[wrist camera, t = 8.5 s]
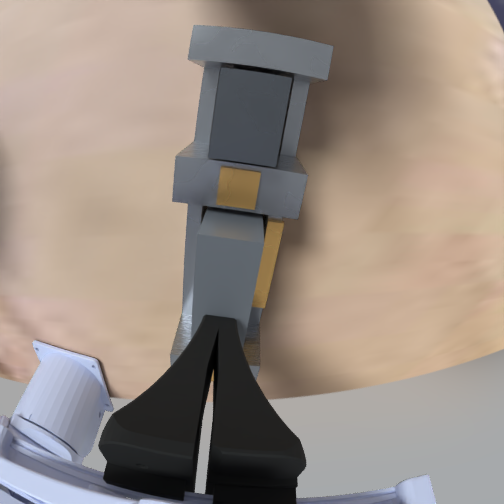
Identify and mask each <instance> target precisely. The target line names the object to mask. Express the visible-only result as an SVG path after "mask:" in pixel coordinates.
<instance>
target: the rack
mask: <svg viewBox="0 0 504 504" xmlns="http://www.w3.org/2000/svg"><path fill="white" fill-rule="evenodd" d="M333 47H334V46H331V45H327V44H323V43H319V42H315V41H311V40H306V39H301V38H297V37H292V36H286V35H281V34H275V33H269V32H263V31H256V30H248V29H240V28H230V27H219V26H204V25H194V26H193V31H192V37H191V42H190V48H189V54H188V60H190V61H192V62H194V63H196V64H198V65H200V66H202V67H204V73H203V79H202V86H201V93H200V100H199V107H198V115H197V123H196V131H195V139H194V141H193V142H192V143H191V144H190V145H188V146H187V147H186V148H185V149H183V150H182V151H181V152H180V153H179V154H177V155H176V159H175V170H174V184H173V198H172V202H180V203H188V212H187V226H186V241H185V258H184V279H183V307H182V314H181V318H180V321H179V325H178V328H177V332H176V335H175V339H174V343H173V346H172V350H171V354H170V358H171V366H172V365H173V363H174V362H175V361H176V360H177V358H178V357H179V356H180V355H181V353H182V352H183V351H184V349H185V348H186V347H187V345H188V344H189V342H190V340H191V325H192V305H193V288H194V272H195V258H196V246H197V234H198V231H199V228H200V226H201V223H202V221H203V217H204V207H205V206H211V207H218V208H225V209H232V210H239V211H246V212H253V213H259V214H266V220H265V225H264V247H263V252H262V257H261V262H260V267H259V272H258V277H257V282H256V287H255V292H254V297H253V302H252V307H251V312H250V317H249V322H248V327H247V332H246V337H245V342H244V346H243V351H244V354H245V357H246V359H247V362H248V364H249V367H250V369H251V371H252V374H253V376H254V378H255V380H256V379H257V376H258V372H259V369H260V318H261V313H262V309H263V308H265V306H266V302H267V297H268V293H269V289H270V285H271V280H272V276H273V271H274V267H275V263H276V258H277V254H278V249H279V245H280V240H281V236H282V231H283V227H284V222H283V221H282V219H283V217H285V218H291V219H298V217H299V213H300V208H301V204H302V200H303V195H304V191H305V186H306V182H307V177H308V174H307V173H306V171H305V169H304V168H303V166H302V165H301V163H300V162H299V160H298V158H297V157H296V151H297V146H298V141H299V136H300V131H301V126H302V121H303V116H304V110H305V105H306V100H307V95H308V89H309V84H310V83H315V82H321V81H327V80H328V74H329V69H330V64H331V58H332V52H333ZM211 381H214V370H213V374H212V379H211Z"/></svg>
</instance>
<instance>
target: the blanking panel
mask: <svg viewBox="0 0 504 504" xmlns="http://www.w3.org/2000/svg"><path fill="white" fill-rule="evenodd" d="M263 247H264V230H263V214H259V213H253V212H246V211H239V210H232V209H225V208H218V207H211V206H208V208H207V210H206V213H205V215H204V218H203V221H202V223H201V226H200V228H199V231H198V234H197V246H196V258H195V272H194V288H193V305H192V325H191V339H192V337H193V336H194V334H195V333H196V331H197V329H198V327H199V325H200V323H201V321H202V319H203V316H204V315H206V314H207V315H214V316H221V317H228V318H235V319H236V321H237V328H238V334H239V338H240V342H241V345H242V348H243V346H244V342H245V337H246V332H247V327H248V322H249V317H250V312H251V307H252V302H253V297H254V292H255V287H256V282H257V277H258V272H259V267H260V262H261V257H262V252H263Z"/></svg>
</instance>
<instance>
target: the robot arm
mask: <svg viewBox="0 0 504 504" xmlns="http://www.w3.org/2000/svg"><path fill="white" fill-rule="evenodd" d="M32 344H33V347H34V349H35V351H36V354H37V356H38V358H39V360H40V364H39V366H38V368H37V370H36V371H35V373H34V375H33V377H32V379H31V380H30V382H29V384H28V386H27V388H26V390H25V392H24V394H23V396H22V397H21V399H20V401H19V403H18V405H17V407H16V409H15V411H14V413H13V415H12V417H11V418H8V417H6V416H5V415H3V416H0V504H35V503H36V504H436V500H435V496H434V492H433V488H432V485H431V481H430V477H429V475H428V474H425V475H421V476H417V477H413V478H409V479H406V480H403V481H402V482H400V483H398V484H397V485H396V486H395V487H390V488H385V489H379V490H374V491H367V492H361V493H353V494H346V495H336V496H326V497H314V498H313V497H312V498H296V487H297V484H298V483H297V477H298V476H299V475H300V474H301V472H302V471H303V470H304V469H305V467H306V458H305V454H304V450H303V447H302V444H301V442H300V439H299V438H298V437H297V436H296V435H295V434H294V433H293V432H292V431H291V430H290V429H289V428H288V427H287V426H286V424H285V423H284V422H283V421H282V420H281V418H280V417H279V416H278V414H277V413H276V412H275V410H274V409H273V407H272V406H271V405H270V403H269V402H268V400H267V399H266V397H265V396H264V394H263V392H262V391H261V389H260V387H259V385H258V384H257V382H256V380H255V378H254V376H253V374H252V371H251V369H250V367H249V364H248V362H247V359H246V357H245V354H244V351H243V348H242V345H241V342H240V338H239V334H238V328H237V321H236V319H235V318H228V317H221V316H214V315H207V314H206V315H204V316H203V319H202V321H201V323H200V325H199V327H198V329H197V331H196V333H195V334H194V336H193V337H192V339H191V340H190V342H189V344H188V345H187V347H186V348H185V349H184V351H183V352H182V353H181V355H180V356H179V357H178V358H177V360H176V361H175V362H174V363H173V365H172V366H171V367H170V368H169V369H168V370H167V371H166V372H165V373H164V374H163V375H162V376H161V377H160V378H159V379H158V380H157V381H156V382H155V383H154V384H153V385H152V386H151V387H150V388H148V389H147V390H146V391H145V392H144V393H142V394H141V395H140V396H138V397H137V398H136V399H135V400H133V401H132V402H130V403H129V404H127V405H126V406H124V407H123V408H121V409H120V410H118V411H116V412H115V413H113V414H112V416H111V417H110V419H109V420H108V422H107V424H106V426H105V428H104V430H103V432H102V435H101V438H100V441H99V445H98V446H99V449H100V451H101V452H102V454H103V456H104V457H105V459H106V460H107V464H106V468H105V472H100V471H97V470H94V469H91V468H88V467H85V466H83V465H82V462H83V459H84V457H86V456H87V455H88V454H89V453H90V451H91V450H92V447H93V444H94V441H95V438H96V435H97V432H98V429H99V426H100V423H101V420H102V417H103V415H104V412H105V410H106V411H110V412H112V411H113V405H112V402H111V399H110V396H109V393H108V390H107V387H106V384H105V381H104V378H103V375H102V371H101V368H100V365H99V362H98V360H97V359H95V358H92V357H88V356H85V355H81V354H78V353H74V352H71V351H68V350H64V349H61V348H58V347H55V346H51V345H48V344H45V343H42V342H39V341H36V340H34V341H33V343H32ZM213 370H214V382H213V422H212V431H211V440H210V451H209V461H208V470H207V480H206V490H205V494H199V493H194V492H195V481H196V472H197V463H198V454H199V445H200V436H201V428H202V427H201V426H202V420H203V414H204V408H205V404H206V400H207V396H208V392H209V387H210V383H211V379H212V374H213ZM22 496H23V497H22ZM126 497H128V498H131V499H128V498H126ZM134 499H135V500H134ZM29 500H30V501H29ZM31 501H32V502H31ZM33 502H34V503H33Z"/></svg>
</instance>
